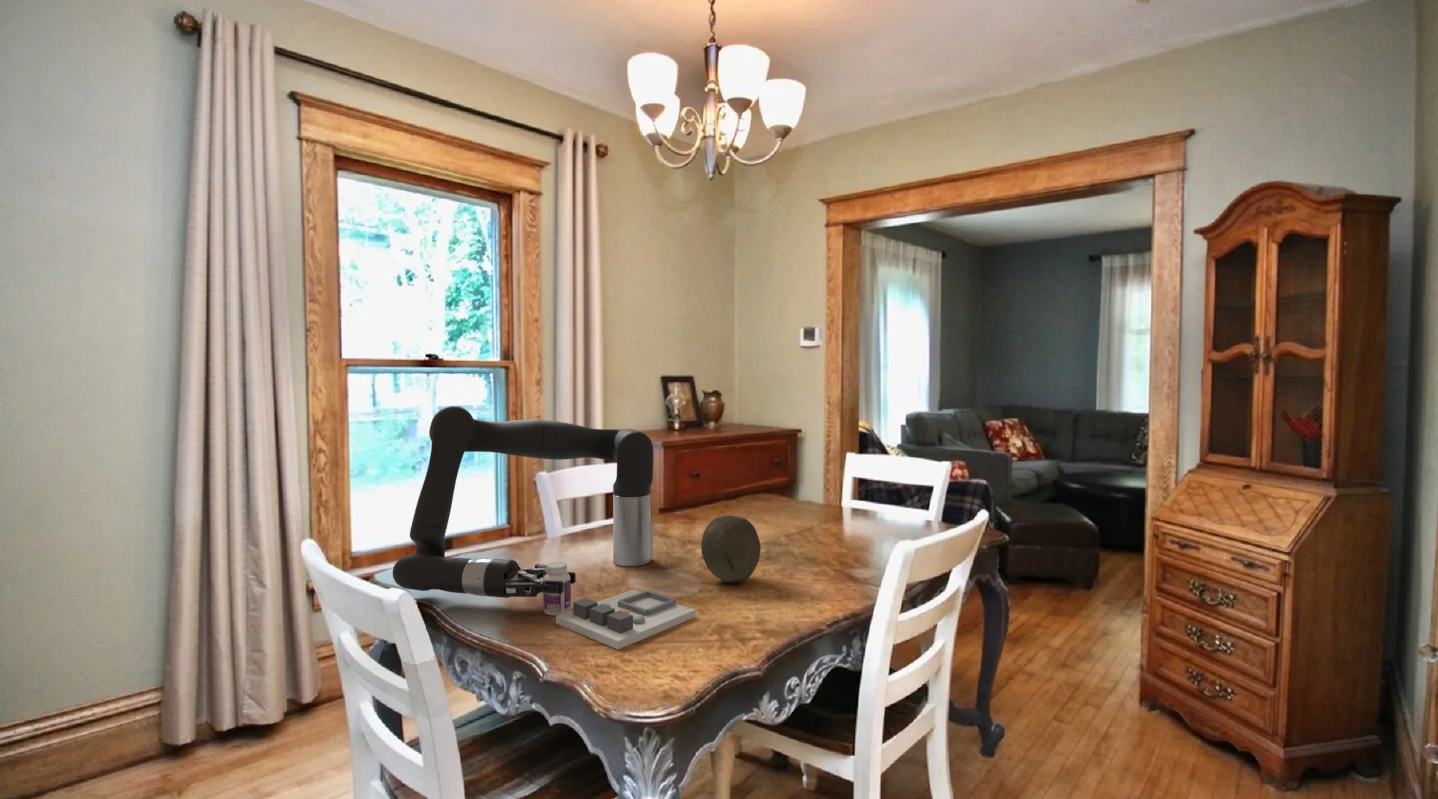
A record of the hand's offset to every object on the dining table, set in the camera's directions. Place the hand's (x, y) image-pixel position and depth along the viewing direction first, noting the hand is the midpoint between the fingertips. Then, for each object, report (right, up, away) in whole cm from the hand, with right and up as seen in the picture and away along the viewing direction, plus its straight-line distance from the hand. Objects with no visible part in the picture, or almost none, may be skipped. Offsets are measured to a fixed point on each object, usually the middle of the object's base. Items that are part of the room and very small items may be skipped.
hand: (568, 582), depth 136 cm
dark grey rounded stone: (+33, -5, +21) cm, 39 cm away
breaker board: (+12, -6, -4) cm, 14 cm away
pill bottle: (-3, -6, +1) cm, 7 cm away
